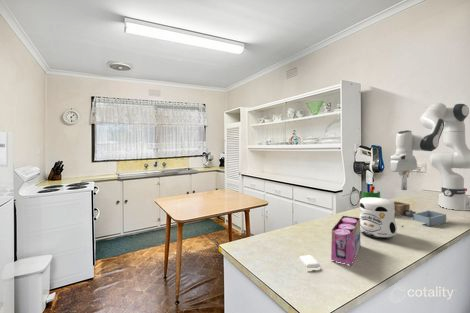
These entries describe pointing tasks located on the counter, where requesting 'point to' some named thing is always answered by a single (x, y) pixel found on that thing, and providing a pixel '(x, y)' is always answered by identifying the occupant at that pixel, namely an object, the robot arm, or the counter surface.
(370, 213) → the milk container
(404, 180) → the pin
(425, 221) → the tray
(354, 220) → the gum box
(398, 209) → the bracket
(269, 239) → the counter surface
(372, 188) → the motor
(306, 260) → the soap
